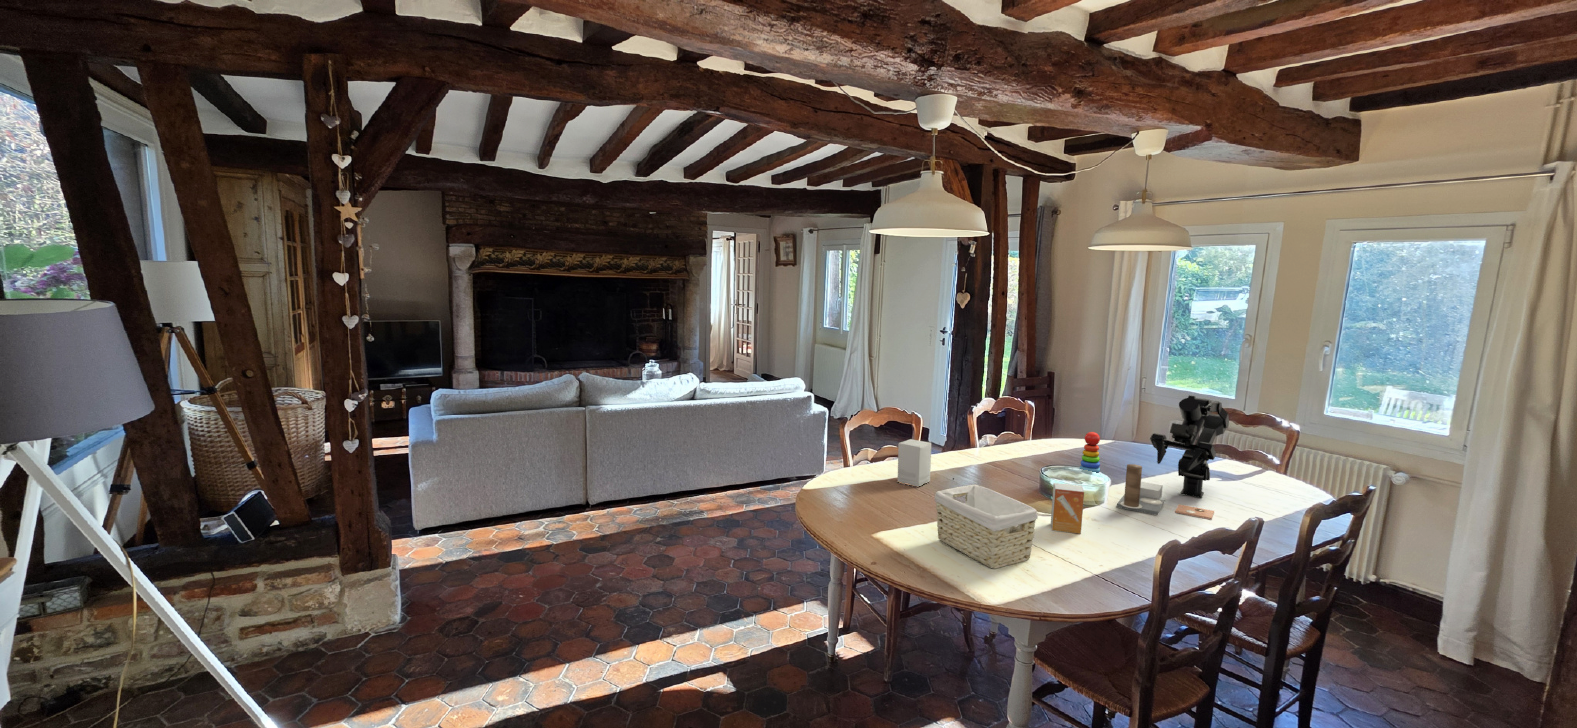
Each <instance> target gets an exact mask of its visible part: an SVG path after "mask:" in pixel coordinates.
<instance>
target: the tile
mask: <svg viewBox="0 0 1577 728" xmlns="http://www.w3.org/2000/svg"><path fill="white" fill-rule="evenodd" d="M1174 513H1176V514H1181V515H1185V516H1190V517H1191V516H1192V517H1197V518H1201V519H1206V520H1212V519H1213V517H1214V514H1215V510H1211V509H1206V508H1201V507H1195V506H1191V505H1185V504H1181V503H1180V504H1179V503H1178V505H1177V506H1176V509H1175V512H1174Z"/></svg>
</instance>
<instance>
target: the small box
mask: <svg viewBox="0 0 1577 728" xmlns="http://www.w3.org/2000/svg"><path fill="white" fill-rule="evenodd" d="M1084 499H1085V491H1084V488H1083V485H1077V484H1070V483H1059V482H1058V483H1057V482H1053V488H1052V501H1051V516H1050V526H1051V530H1052V531H1054V532H1055V531H1056V532H1065V533H1072V534H1079V535H1080V534H1082V525H1083V510H1084V501H1085V500H1084Z"/></svg>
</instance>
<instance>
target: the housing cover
mask: <svg viewBox="0 0 1577 728" xmlns="http://www.w3.org/2000/svg"><path fill="white" fill-rule="evenodd" d="M1162 496H1163V485H1162V484H1158V483H1152V482H1145V481H1141V487H1140V497H1145V498H1153V499H1157V500H1161V499H1162Z"/></svg>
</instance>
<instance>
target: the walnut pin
mask: <svg viewBox="0 0 1577 728" xmlns="http://www.w3.org/2000/svg"><path fill="white" fill-rule="evenodd" d="M1125 471H1126V472H1125V483H1124V484H1125V485H1124V494H1125V495H1124V494H1123V495H1124V505H1126V506H1130V507H1139V500H1140V487H1141V482H1142V474H1143V466H1141V465H1139V464H1133V463H1132V464H1131V463H1129V464H1126V469H1125Z"/></svg>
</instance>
